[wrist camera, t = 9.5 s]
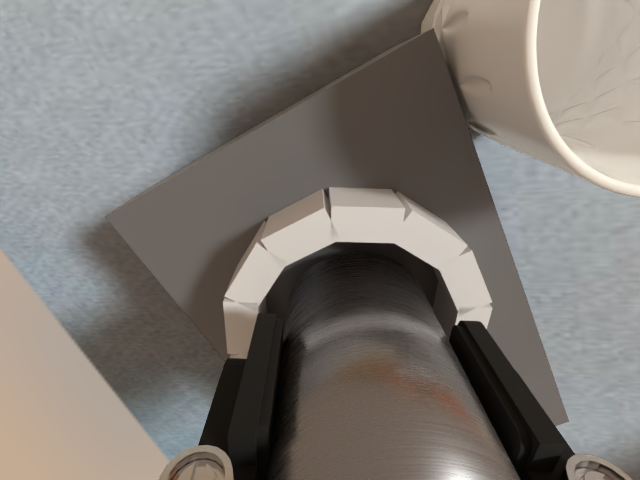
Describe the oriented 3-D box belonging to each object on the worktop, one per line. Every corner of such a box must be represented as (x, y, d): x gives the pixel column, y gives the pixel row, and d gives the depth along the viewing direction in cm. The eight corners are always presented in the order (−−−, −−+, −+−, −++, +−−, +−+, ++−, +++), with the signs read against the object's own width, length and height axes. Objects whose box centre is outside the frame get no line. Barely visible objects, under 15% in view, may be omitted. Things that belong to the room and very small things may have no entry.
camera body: (505, 337, 22) (600, 463, 15) (334, 404, 24) (342, 544, 17) (391, 47, 16) (460, 15, 8) (169, 175, 18) (67, 240, 10)
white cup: (379, 114, 17) (459, 151, 8) (442, -97, 14) (707, -468, 4) (531, 154, 18) (768, 232, 8) (622, -36, 14) (1154, -240, 5)
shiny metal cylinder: (436, 254, 12) (708, 639, 4) (413, 368, 14) (554, 781, 6) (287, 248, 12) (223, 634, 4) (285, 364, 14) (241, 784, 6)
